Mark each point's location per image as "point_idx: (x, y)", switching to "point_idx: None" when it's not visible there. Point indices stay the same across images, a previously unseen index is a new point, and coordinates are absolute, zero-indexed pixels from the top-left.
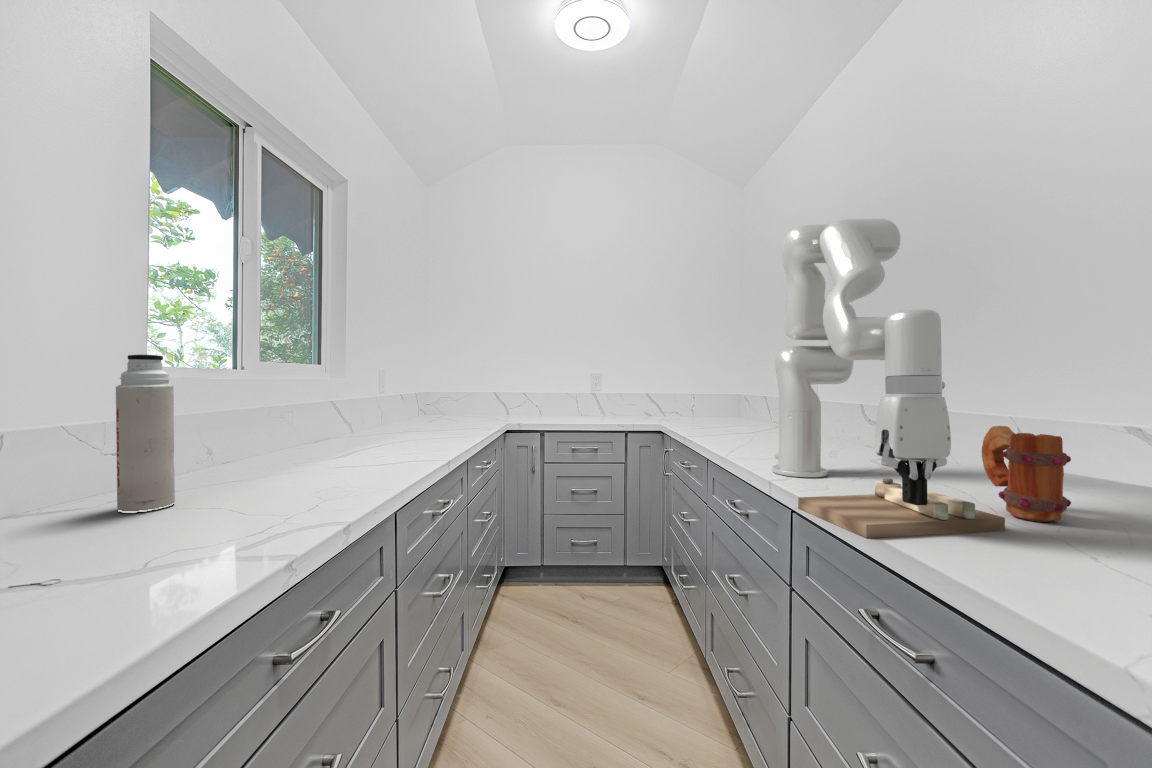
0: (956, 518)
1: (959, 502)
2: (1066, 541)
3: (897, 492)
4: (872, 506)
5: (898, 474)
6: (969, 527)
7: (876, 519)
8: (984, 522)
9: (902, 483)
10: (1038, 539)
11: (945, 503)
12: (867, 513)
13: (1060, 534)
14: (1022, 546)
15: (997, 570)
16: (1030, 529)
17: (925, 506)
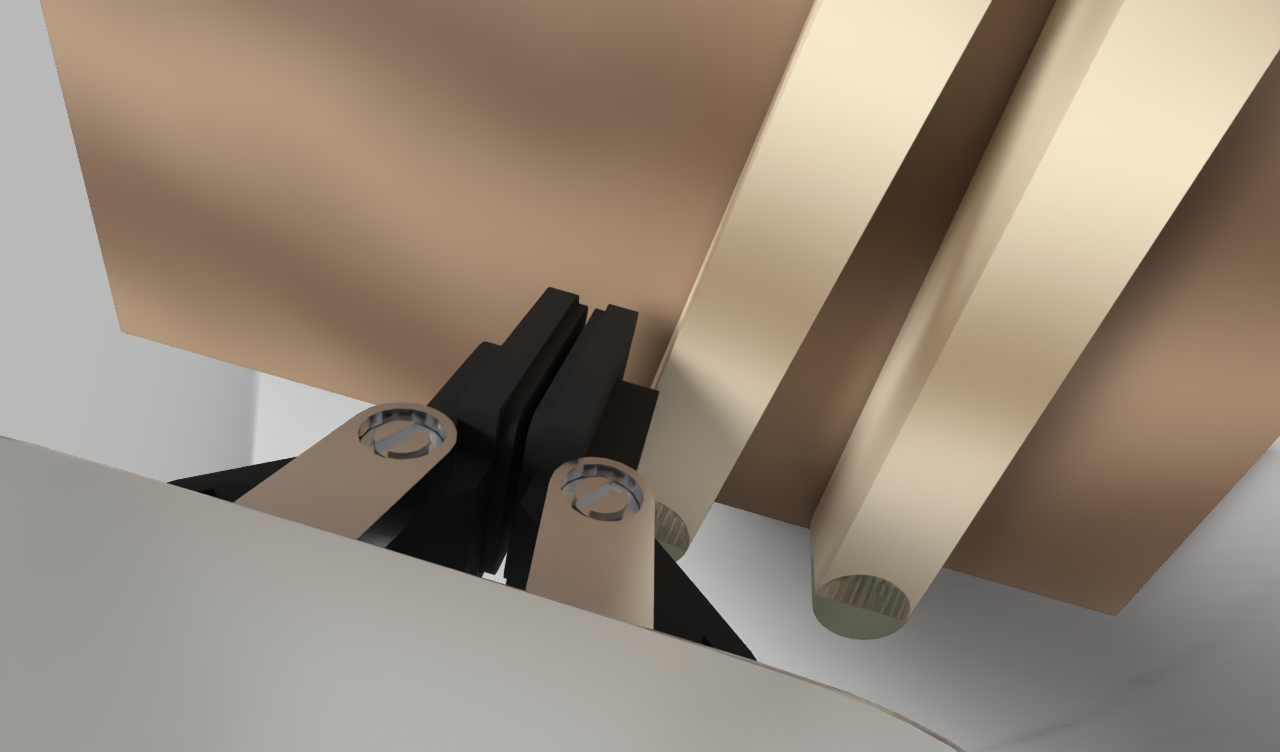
0: (785, 492)
1: (825, 576)
2: (1105, 721)
3: (796, 57)
4: None
5: (360, 421)
6: None
7: (245, 289)
8: None
9: (429, 403)
10: (1024, 661)
11: (687, 543)
12: (280, 154)
13: (1268, 692)
14: (808, 653)
15: None
16: (1271, 604)
17: None
